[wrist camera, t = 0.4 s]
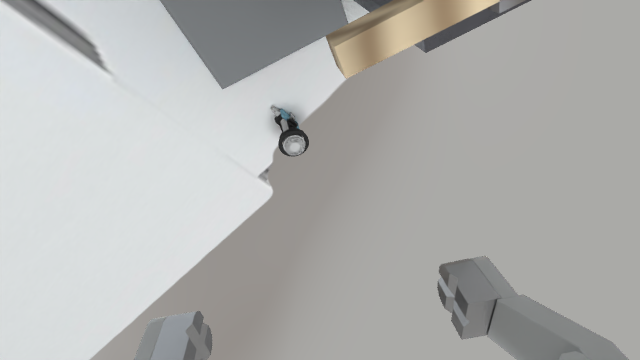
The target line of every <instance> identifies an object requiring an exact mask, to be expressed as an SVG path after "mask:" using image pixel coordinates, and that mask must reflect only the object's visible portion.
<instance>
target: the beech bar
mask: <svg viewBox="0 0 640 360" xmlns="http://www.w3.org/2000/svg"><path fill="white" fill-rule="evenodd" d="M523 1H525V0H393V1H391V2H389V3H387V4H385V5H383V6H381V7H380V8H378V9H376V10H374V11H372V12H370V13H368V14H366V15H364V16H362V17H360V18H358V19H357V20H355V21H353V22H351V23H349V24H347V25H345V26H343V27H341V28H339V29H337V30H336V31H334V32H332V33H330V34H328V35H326V38H327V41H328V44H329V46H330V49H331V52H332V54H333V57H334V59H335V62H336V65H337V67H338V68H339V69H340V71H341V72H342V74H343V75H344V77H345V78H346V79H347V78H349V77H351V76H353V75H354V74H357V73H359V72H360V71H363V70H364V69H366V68H368V67H370V66H372V65H374V64H376V63H378V62H380V61H382V60H384V59H386V58H388V57H390V56H392V55H394V54H396V53H398V52H400V51H402V50H404V49H406V48H408V47H410V46H412V45H414V44H416V43H418V42H420V41H422V40H424V39H426V38H428V37H430V36H432V35H434V34H436V33H438V32H440V31H442V30H444V29H446V28H448V27H450V26H452V25H454V24H456V23H458V22H460V21H462V20H464V19H466V18H468V17H470V16H472V15H474V14H476V13H478V12H480V11H482V10H484V9H489V10H492V11H494V12H497V13H501V12H503V11H505V10H507V9H509V8H511V7H513V6H515V5H517V4H519V3H521V2H523Z"/></svg>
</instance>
